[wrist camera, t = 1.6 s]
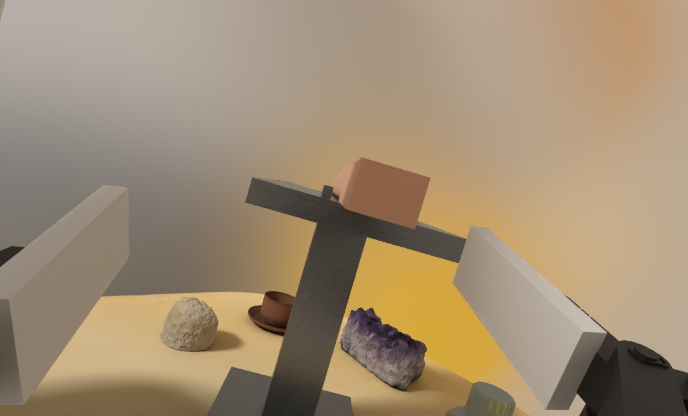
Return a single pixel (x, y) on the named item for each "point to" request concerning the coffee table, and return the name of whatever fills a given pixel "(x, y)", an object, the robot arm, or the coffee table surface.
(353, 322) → the geode
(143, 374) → the coffee table surface
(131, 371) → the coffee table surface
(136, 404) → the coffee table surface
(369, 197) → the block
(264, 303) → the cup and saucer
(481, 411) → the air freshener
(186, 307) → the beige rough dome
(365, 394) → the coffee table surface
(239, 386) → the stand
